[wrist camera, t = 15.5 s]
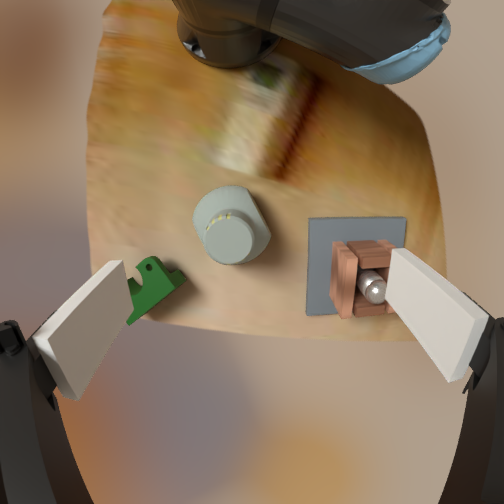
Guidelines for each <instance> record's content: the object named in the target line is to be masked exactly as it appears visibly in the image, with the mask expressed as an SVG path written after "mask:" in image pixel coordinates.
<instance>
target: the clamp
mask: <svg viewBox="0 0 504 504" xmlns="http://www.w3.org/2000/svg"><path fill="white" fill-rule="evenodd" d="M136 268H137V269H138V270H139V272H140V273H141V276H142V279H143V286H140V285H138V284H137V283H136V281H135V280H134V278H133V277H132V278H130V279H128V280H127V282H128V287H129V291H130V295H131V299H132V303H133V307H134V310H133V312H132V313H131V315H130V316H129V318H128V319H127V321H126V322H127V324H128V325H131V324H132V323H133V322H135V321H136V320H137V319H139V318H140V317H142V316H143V315H144V314H145V313H147V312H148V311H149V310H151V309H152V308H153V307H154V306H155V305H157V304H158V303H159V302H160V301H162V300H163V299H164V298H165V297H167V296H168V295H169V294H170V293H172V292H173V291H174V290H175V289H177V288H178V287H179V286H180V285H181V284H183V283H184V282H185V281H186V279H185V277H184V276H183V275H182V273H181V272H180V271H179V269H178V270H176V271H174V272H172V273H171V274H170V273H169V272H168V270H167V269H166V267H165V266H164V265H163V263H162V262H161V261H160V259H159V258H157V257H156V256H150V257H148V258H145V259H144V260H143V261H142V262H141V263H139V264H138V265H137V266H136Z"/></svg>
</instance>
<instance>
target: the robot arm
mask: <svg viewBox="0 0 504 504" xmlns="http://www.w3.org/2000/svg"><path fill="white" fill-rule="evenodd" d="M172 1H173V3H174V4H175V6H176V8H177V9H178V11H179V15H178V20H177V32H178V36H179V39H180V41H181V43H182V44H183V46H184V47H185V49H186V50H187V51H188V53H189V54H190V55H191V56H193V57H194V58H195V59H197V60H198V61H200V62H202V63H205V64H207V65H210V66H214V67H220V68H237V67H243V66H247V65H250V64H253V63H255V62H258V61H260V60H261V59H263V58H265V57H266V56H267V55H269V54H270V53H271V52H272V51H273V50H274V49H275V48H276V47H277V45H278V44H279V42H280V40H281V38H282V37H283V38H285V39H288V40H290V41H292V42H295V43H297V44H299V45H302V46H304V47H306V48H308V49H310V50H312V51H314V52H316V53H319V54H321V55H323V56H325V57H327V58H328V59H330V60H332V61H334V62H336V63H338V64H340V66H341V67H342V68H344V69H346V70H348V71H354V72H356V73H357V74H359V75H361V76H363V77H365V78H367V79H368V80H370V81H372V82H374V83H377V84H396V83H399V82H402V81H405V80H407V79H409V78H411V77H413V76H414V75H416V74H417V73H419V72H420V71H422V70H423V69H424V68H426V67H427V66H428V65H429V64H430V63H431V62H432V61H433V60H434V59H435V58H436V57H437V56H438V55H439V53H440V52H441V51H442V45H443V44H444V43H446V42H447V41H448V39H449V36H450V32H451V28H450V26H451V25H450V22H449V20H448V19H447V17H446V15H445V13H443V11H444V10H445V9H446V8H447V7H448V6H449V5H450V3H451V0H172ZM385 299H386V300H387V302H388V303H389V304H390V305H391V307H392V308H393V309H394V310H395V312H396V313H397V314H398V315H399V317H400V318H401V319H402V320H403V322H404V323H405V324H406V326H407V327H408V328H409V330H410V331H411V332H412V333H413V335H414V336H415V337H416V339H417V340H418V341H419V343H420V344H421V345H422V347H423V348H424V349H425V351H426V352H427V354H428V355H429V356H430V358H431V359H432V360H433V362H434V363H435V365H436V366H437V367H438V369H439V370H440V371H441V373H442V375H443V376H444V377H445V379H446V380H447V382H448V383H450V382H453V381H456V380H459V379H461V378H463V376H464V375H465V373H466V371H467V368H468V366H470V367H471V368H472V370H473V373H472V375H471V377H470V379H469V381H468V382H467V384H466V386H465V388H464V390H463V392H462V393H463V394H465V392H466V390H467V389H468V396H467V402H466V408H465V413H464V419H463V424H462V428H461V433H460V437H459V441H458V445H457V449H456V453H455V456H454V460H453V463H452V466H451V470H450V473H449V475H448V478H447V481H446V484H445V487H444V490H443V492H442V495H441V498H440V500H439V503H438V504H504V318H503V317H502V318H497V319H496V320H495V319H494V318H493V317H492V316H491V315H490V314H489V313H488V312H486V311H485V310H484V309H483V308H482V307H481V306H479V305H477V303H476V302H475V301H474V300H472V299H471V298H470V297H469V296H468V295H466V294H465V293H464V292H462V291H460V290H459V289H457V288H456V287H455V286H454V285H452V284H451V283H450V282H449V281H448V280H446V279H445V278H444V277H442V276H441V275H440V274H439V273H437V272H436V271H435V270H434V269H432V268H431V267H430V266H428V265H427V264H426V263H424V262H423V261H422V260H420V259H419V258H418V257H416V256H415V255H414V254H412V253H411V252H410V251H408V250H407V249H405V248H395V249H392V254H391V262H390V269H389V276H388V282H387V288H386V294H385ZM133 310H134V307H133V303H132V299H131V295H130V291H129V287H128V282H127V278H126V273H125V269H124V264H123V260H115V261H109V262H108V263H107V264H105V265H104V266H103V267H102V268H101V269H100V270H99V271H98V272H97V273H96V274H94V275H93V276H92V277H91V278H90V279H89V280H88V281H87V282H86V283H85V284H84V285H83V286H82V287H81V288H80V289H78V290H77V291H76V292H75V293H74V294H73V295H72V296H71V297H70V298H69V299H68V300H67V301H66V302H65V303H64V304H63V305H62V306H61V307H60V308H59V309H58V310H56V311H55V312H53V313H52V314H51V315H50V317H48V319H47V320H46V321H45V322H44V323H43V324H42V326H40V327H39V328H38V329H37V330H36V331H35V332H34V333H33V334H32V335H31V336H30V338H28V340H27V341H25V339H24V336H23V334H22V332H21V330H20V327H19V325H18V323H17V322H16V321H14V320H9V321H4V322H2V323H0V504H94V503H93V501H92V499H91V497H90V494H89V492H88V490H87V488H86V486H85V483H84V481H83V479H82V476H81V474H80V471H79V469H78V466H77V464H76V461H75V459H74V456H73V453H72V450H71V447H70V444H69V441H68V439H67V435H66V431H65V428H64V425H63V421H62V418H61V414H60V411H59V406H58V402H57V399H56V397H55V395H54V393H53V391H54V389H55V387H56V386H57V387H58V389H59V390H60V392H61V394H62V395H63V397H65V398H69V399H73V400H77V401H79V400H80V398H81V396H82V395H83V393H84V390H85V389H86V387H87V386H88V384H89V382H90V380H91V379H92V377H93V375H94V373H95V372H96V370H97V368H98V367H99V365H100V363H101V361H102V360H103V358H104V357H105V355H106V353H107V352H108V350H109V348H110V346H111V345H112V343H113V342H114V340H115V338H116V337H117V335H118V334H119V332H120V330H121V329H122V327H123V326H124V324H125V323H126V321H127V319H128V318H129V316H130V315H131V313H132V312H133Z"/></svg>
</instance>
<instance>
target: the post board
mask: <svg viewBox="0 0 504 504" xmlns="http://www.w3.org/2000/svg"><path fill="white" fill-rule="evenodd" d="M405 227H406V218H404V217H326V218H309V226H308V269H307V294H306V315H307V316H312V315H325V314H336V313H338V312H337V310H336V308H335V306H334V304H333V302H332V300H331V298H330V296H329V293H330V279H331V264H332V245H333V242H338V241H342V242H343V243H344V244H345V245H347V241H363V240H374V241H375V242H376V243H377V242H378V240H387V241H389V242H390V243H391V244H393V245H394V246H395V247H397V248H403V245H404V236H405ZM373 269H374V270H375V268H373ZM355 285H356V284H355ZM352 312H353V311H352Z"/></svg>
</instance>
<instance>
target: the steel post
mask: <svg viewBox="0 0 504 504" xmlns="http://www.w3.org/2000/svg"><path fill="white" fill-rule="evenodd" d="M355 284H356V285H357V287H358V288H359V289H360V291H361V292H362V294H363V295H364V296H365V298H366V299H367V300H368V301H369V302H370V303H372V304H380V303H383V302H384V301H385V300H386V299H385V294H386V288H387V283H386V282H385V281H384V280H383V279H382V277H381V276H380V275H379V274H378V273H377V272H376V271H375V270H374V269H373V268H365V269H362V268H361V267H360V266H359V264H357V274H356V283H355Z"/></svg>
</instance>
